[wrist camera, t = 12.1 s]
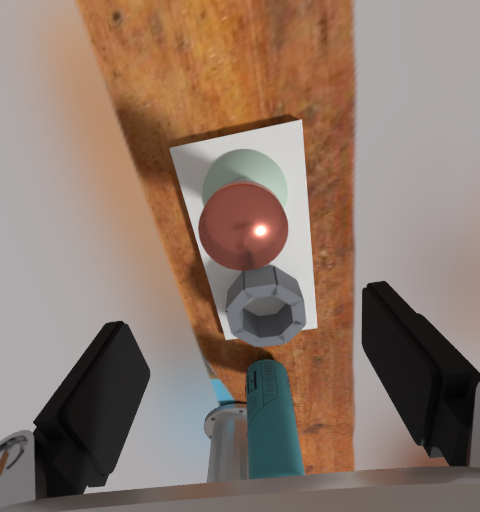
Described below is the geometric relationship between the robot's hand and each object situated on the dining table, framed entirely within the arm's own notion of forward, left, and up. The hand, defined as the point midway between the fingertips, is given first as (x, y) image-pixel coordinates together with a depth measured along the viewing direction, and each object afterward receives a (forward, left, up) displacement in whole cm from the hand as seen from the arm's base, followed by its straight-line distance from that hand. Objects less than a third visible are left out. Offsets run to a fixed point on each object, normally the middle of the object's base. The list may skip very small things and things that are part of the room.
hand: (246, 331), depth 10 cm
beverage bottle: (-26, -6, -21) cm, 34 cm away
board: (-6, -2, -21) cm, 21 cm away
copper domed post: (+1, 0, -19) cm, 19 cm away
